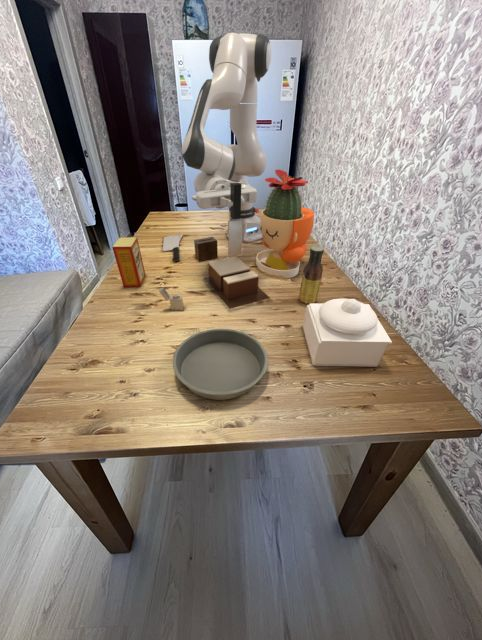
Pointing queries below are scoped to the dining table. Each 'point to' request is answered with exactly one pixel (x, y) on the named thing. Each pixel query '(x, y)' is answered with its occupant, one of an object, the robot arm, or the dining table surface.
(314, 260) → the sauce bottle
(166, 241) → the kitchen cleaver
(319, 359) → the white lidded canister
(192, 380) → the cake pan
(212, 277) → the cake
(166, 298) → the lighter
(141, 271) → the baking soda box
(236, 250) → the cake knife
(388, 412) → the dining table surface
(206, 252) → the knife block
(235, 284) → the cake slice
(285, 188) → the potted cactus
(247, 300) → the cake board
